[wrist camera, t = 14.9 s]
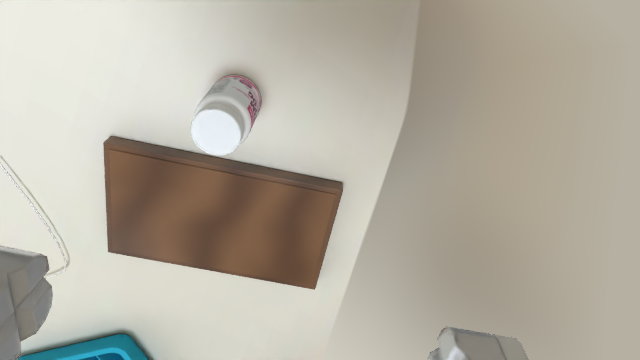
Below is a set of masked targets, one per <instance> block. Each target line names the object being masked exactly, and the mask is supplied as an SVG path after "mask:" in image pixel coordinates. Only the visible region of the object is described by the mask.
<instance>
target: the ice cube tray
mask: <svg viewBox="0 0 640 360" xmlns="http://www.w3.org/2000/svg"><path fill="white" fill-rule="evenodd" d="M18 360H148V358H147V357H146V356H145V355H144V353H143V352H142V351H141V350H140V348H139V347H138V346H137V344H136V343H135V342H134V341H133V339H132V338H131V337H130V336H128V335H126V334H117V335H112V336H108V337H104V338H99V339H95V340H91V341H86V342H82V343H78V344H73V345H69V346H65V347H60V348H56V349H52V350H47V351H43V352H39V353H34V354H30V355H26V356H22V357H20V358H19V359H18Z"/></svg>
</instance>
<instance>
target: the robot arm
mask: <svg viewBox="0 0 640 360" xmlns="http://www.w3.org/2000/svg"><path fill="white" fill-rule="evenodd" d="M48 271H49V265H48V259H47V256H44V255H42V254H38V253H34V252H29V251H24V250H19V249H14V248H9V247H4V246H0V360H16V359H17V358H18V357H19V355H20V354H21V343H20V342H21V341H22V340H24V339H26V338H28V337H30V336H32V335H34V334H36V333H37V331H38V330H39V328H40V327H41V326H42V324H43V323H44V322H45V320H46V317H47V315H48V313H49V310H50V308H51V304H52V297H53V294H52V286H51V285H50V284H49V283H48V282H47V281H46V279H45V278H44V277H43V276H44V275H45V274H46V273H47V272H48ZM437 339H438V343H439V348H437V349H435V350H434V351H432V352H430V354H429V356H428V358H427V360H528V358H527V355H526V353H525V351H524V349H523V347H522V345H521V343H520V342H519V341H518V340H517V339H516V338H511V337H505V336H499V335H491V334H487V333H481V332H475V331H470V330H464V329H457V328H452V327H445V328H444V329H443V330H442V331H441V333H440V334H439V336H438V338H437Z"/></svg>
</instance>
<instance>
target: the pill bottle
mask: <svg viewBox="0 0 640 360" xmlns="http://www.w3.org/2000/svg"><path fill="white" fill-rule="evenodd" d="M260 107H261V96H260V93H259V91H258V89H257V87H256V86H255V85H254V83H252V82H251V81H250V80H249V79H247V78H245V77H243V76H239V75H229V76H226V77H223V78H221V79H220V80H218V81H217V82H216V83H215V84H214V86H213V87H212V88H211V89H210V90H209V92H208V93H207V94H206V95H205V96H204V98H203V99H202V100H201V101H200V103H199V104H198V106H197V108H196V110H195V115H194V119H193V120H192V123H191V135H192V138H193V140H194V142H195V143H196V145H197V146H198V147H199V148H200V149H202V150H203V151H205V152H206V153H209V154H212V155H218V156H220V155H226V154H229V153H231V152H232V151H234V150H235V149H236V148H237V147H238V145H239V144H241V143H242V142H243V141H244V140H245V139H246V138H247V136H248V135H249V133H250V131H251V128H252V126H253V123H254V121H255V119H256V117H257V115H258V112H259V110H260Z"/></svg>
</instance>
